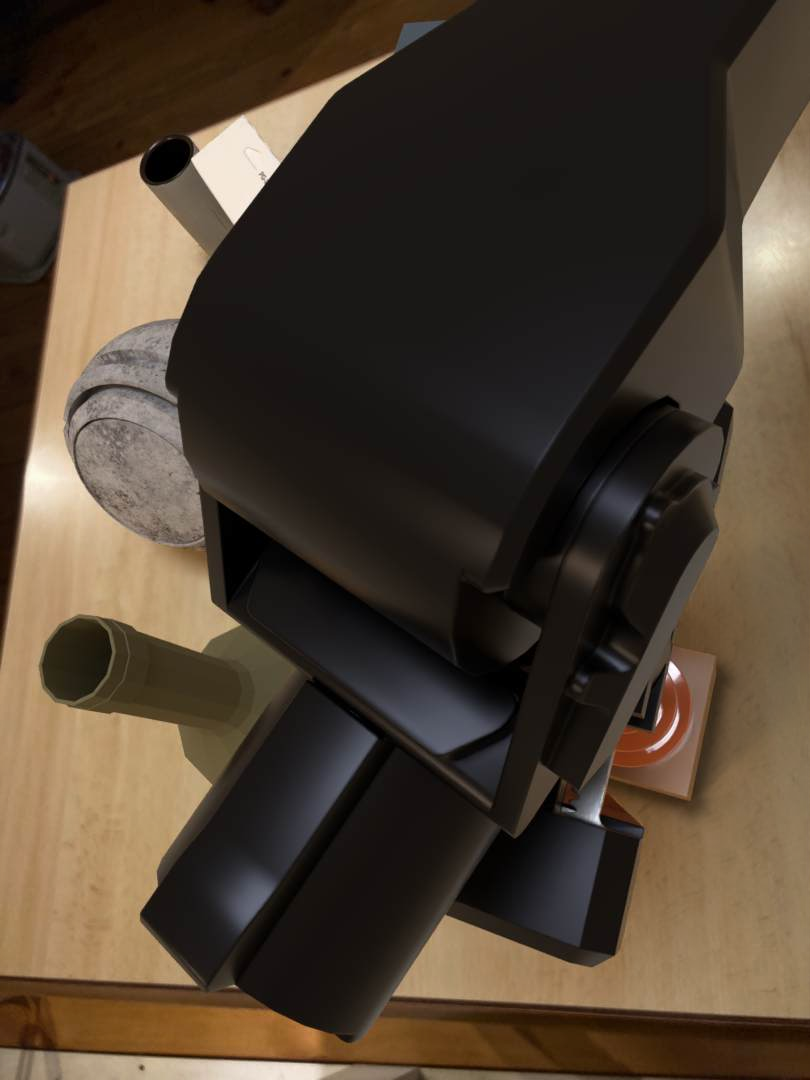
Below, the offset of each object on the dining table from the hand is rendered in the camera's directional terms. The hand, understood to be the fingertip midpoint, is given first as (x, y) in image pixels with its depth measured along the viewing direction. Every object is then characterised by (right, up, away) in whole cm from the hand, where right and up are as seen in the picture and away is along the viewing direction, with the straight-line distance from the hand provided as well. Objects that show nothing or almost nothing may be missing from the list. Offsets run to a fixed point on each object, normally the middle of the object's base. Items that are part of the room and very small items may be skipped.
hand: (611, 682), depth 35 cm
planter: (-22, +30, +33) cm, 50 cm away
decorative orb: (-20, +11, +26) cm, 35 cm away
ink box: (-16, +27, +30) cm, 43 cm away
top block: (-6, +39, +27) cm, 47 cm away
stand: (+4, -4, +12) cm, 13 cm away
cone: (+2, -2, +6) cm, 7 cm away
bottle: (-8, -7, +16) cm, 19 cm away
